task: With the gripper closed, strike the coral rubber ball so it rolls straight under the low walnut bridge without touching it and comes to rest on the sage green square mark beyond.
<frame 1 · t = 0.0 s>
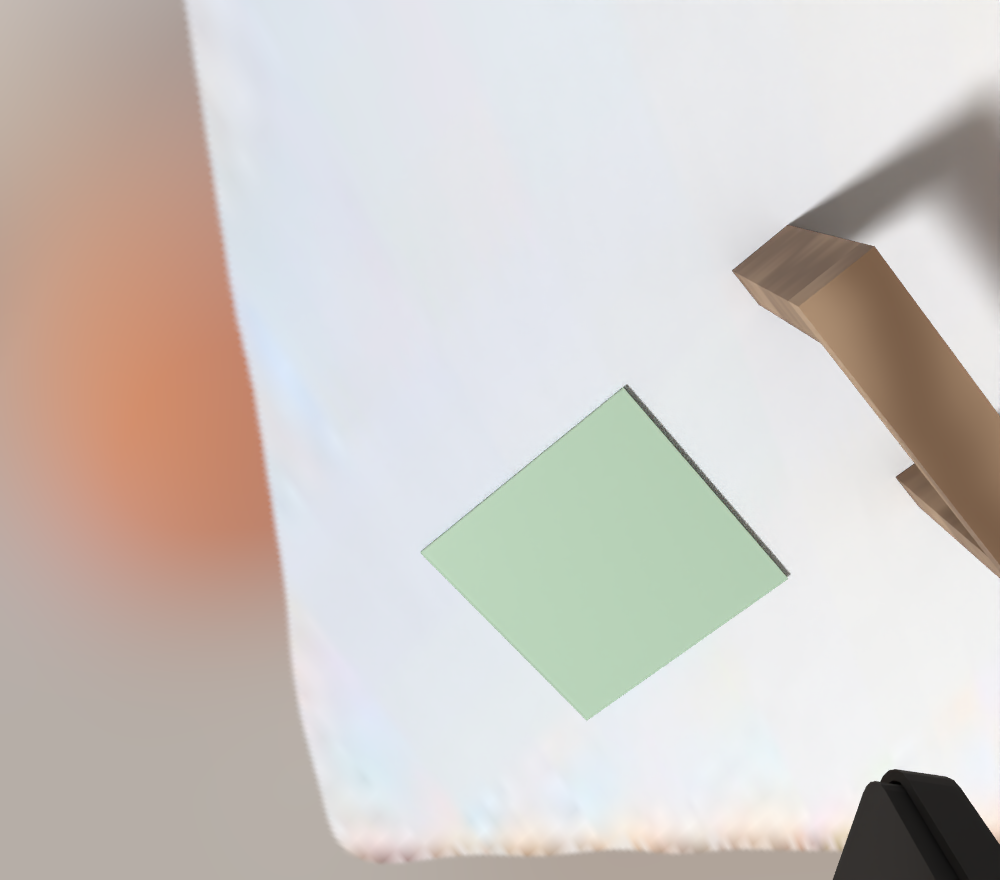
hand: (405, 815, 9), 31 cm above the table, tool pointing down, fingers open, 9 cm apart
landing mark: (603, 564, 42), on the table
bridge: (856, 372, 39), on the table
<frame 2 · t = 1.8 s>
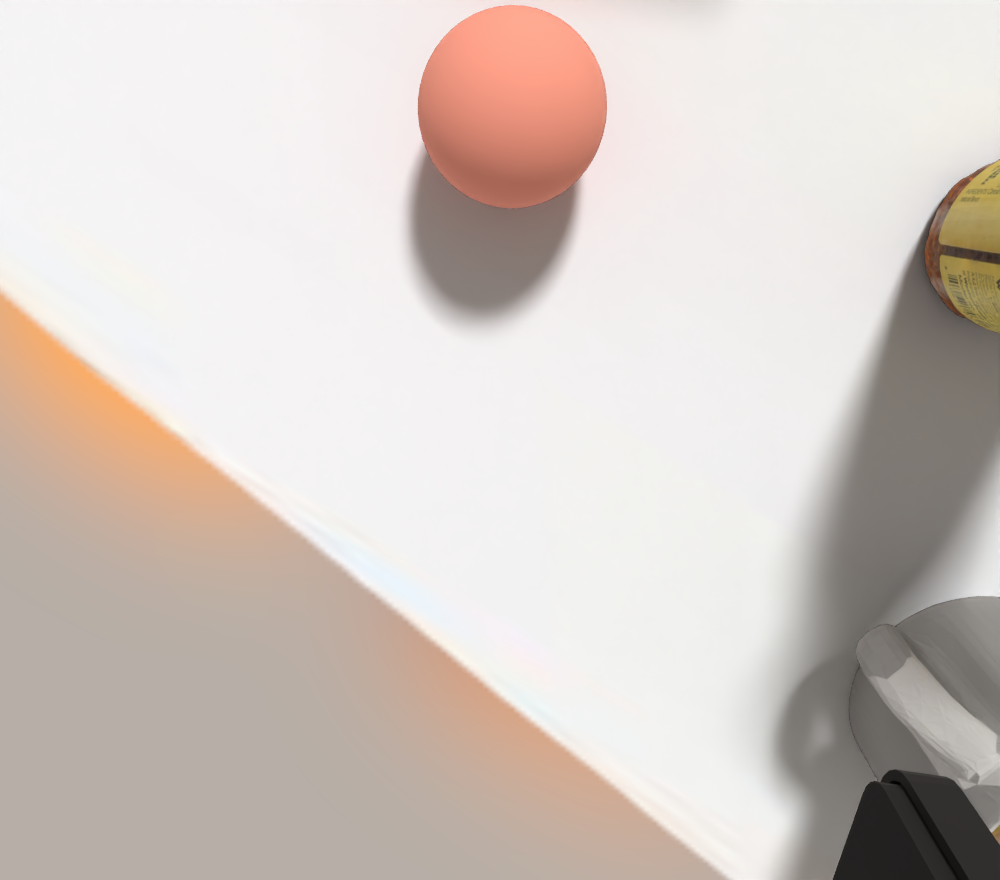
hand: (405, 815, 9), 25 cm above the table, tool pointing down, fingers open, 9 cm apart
ball: (512, 110, 27), on the table
coffee mug: (943, 668, 36), on the table
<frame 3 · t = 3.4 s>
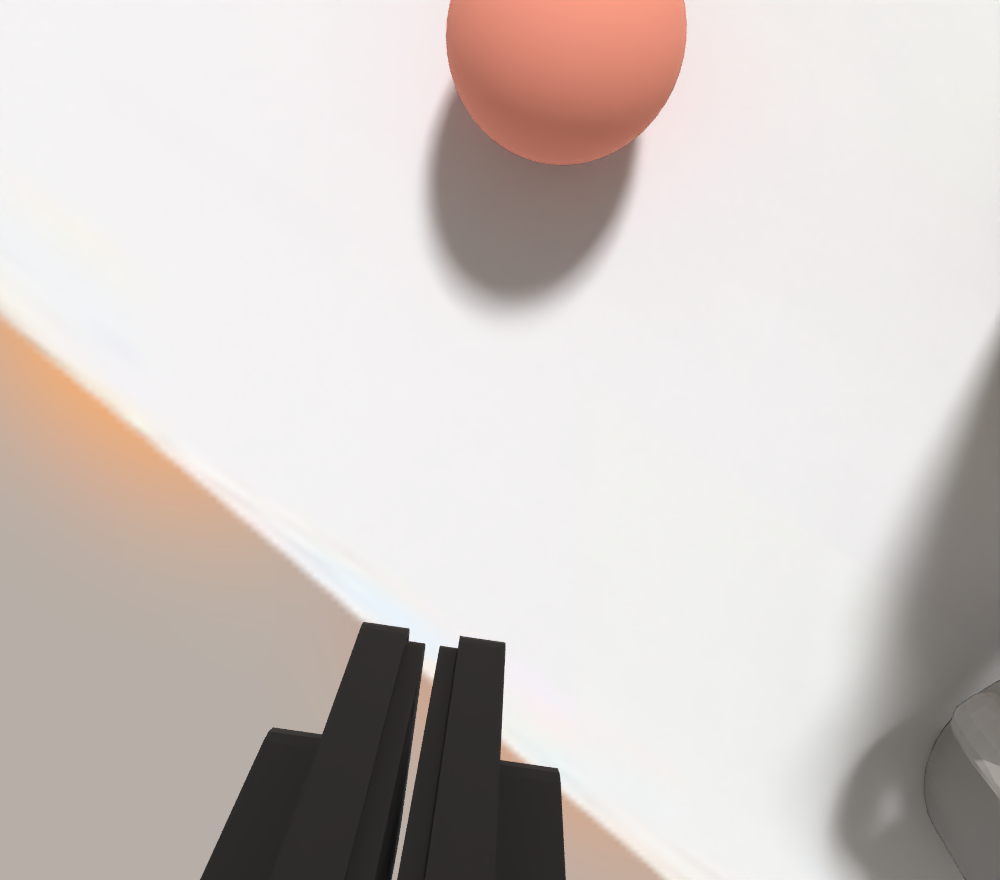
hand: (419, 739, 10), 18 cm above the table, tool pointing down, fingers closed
ball: (565, 40, 21), on the table
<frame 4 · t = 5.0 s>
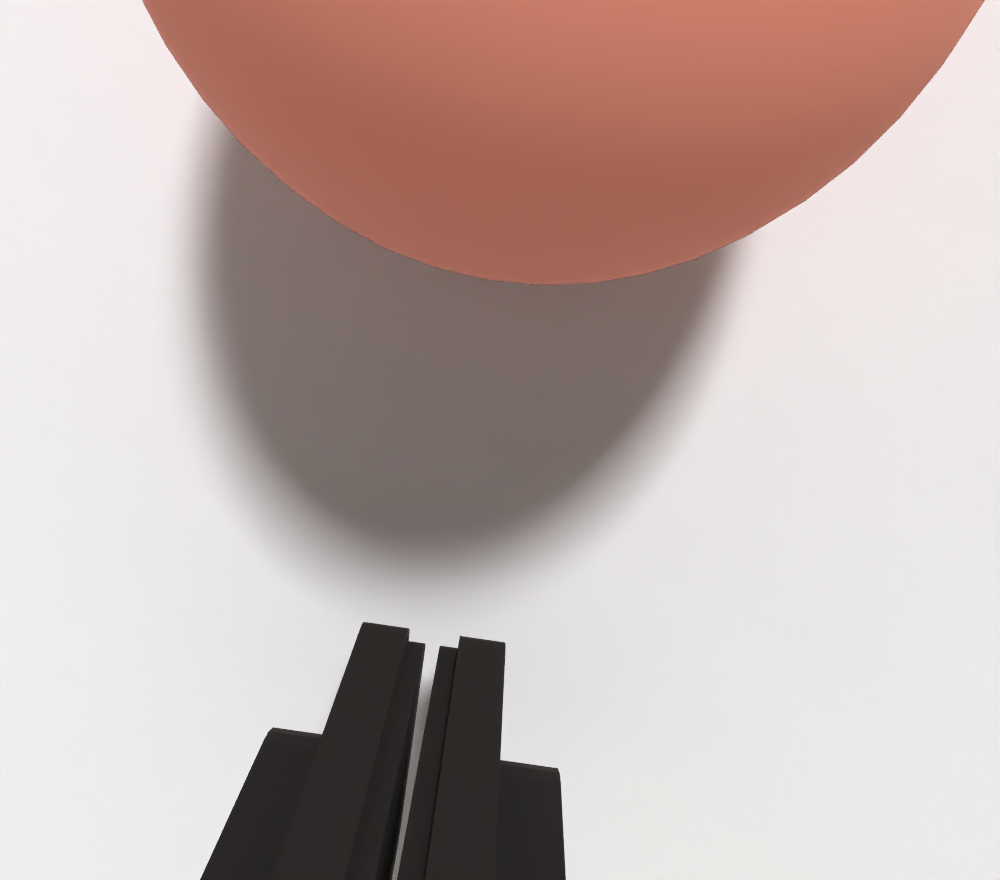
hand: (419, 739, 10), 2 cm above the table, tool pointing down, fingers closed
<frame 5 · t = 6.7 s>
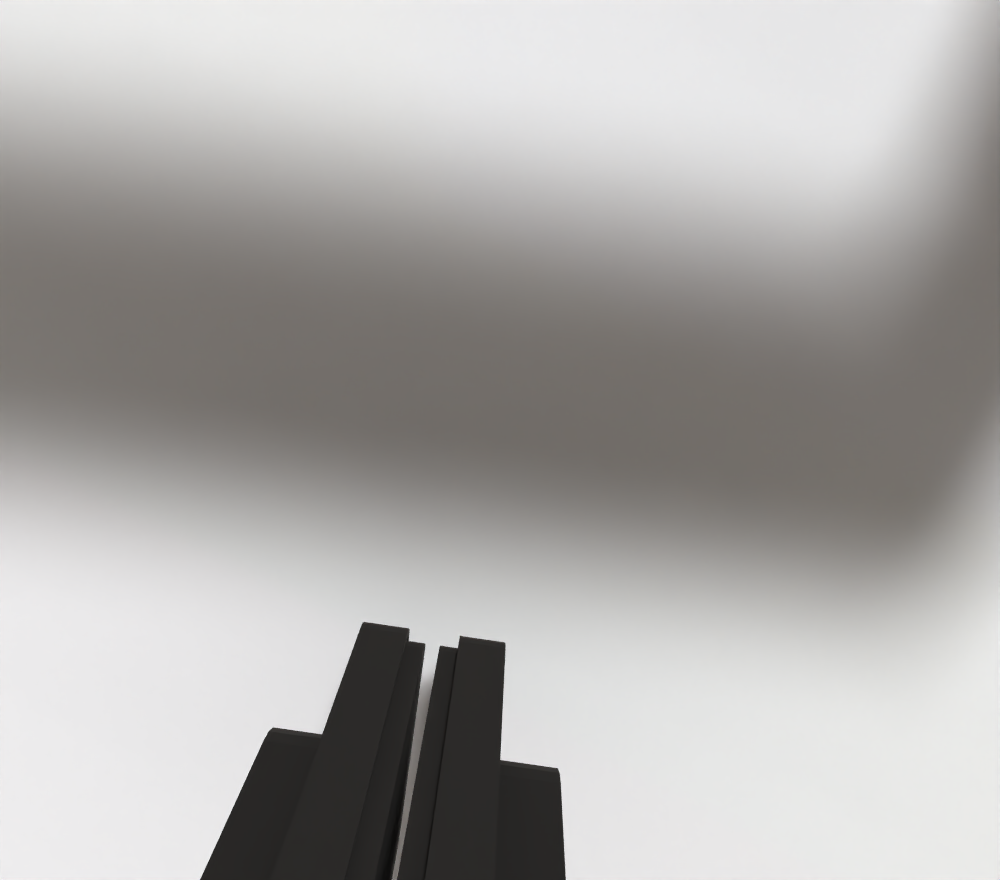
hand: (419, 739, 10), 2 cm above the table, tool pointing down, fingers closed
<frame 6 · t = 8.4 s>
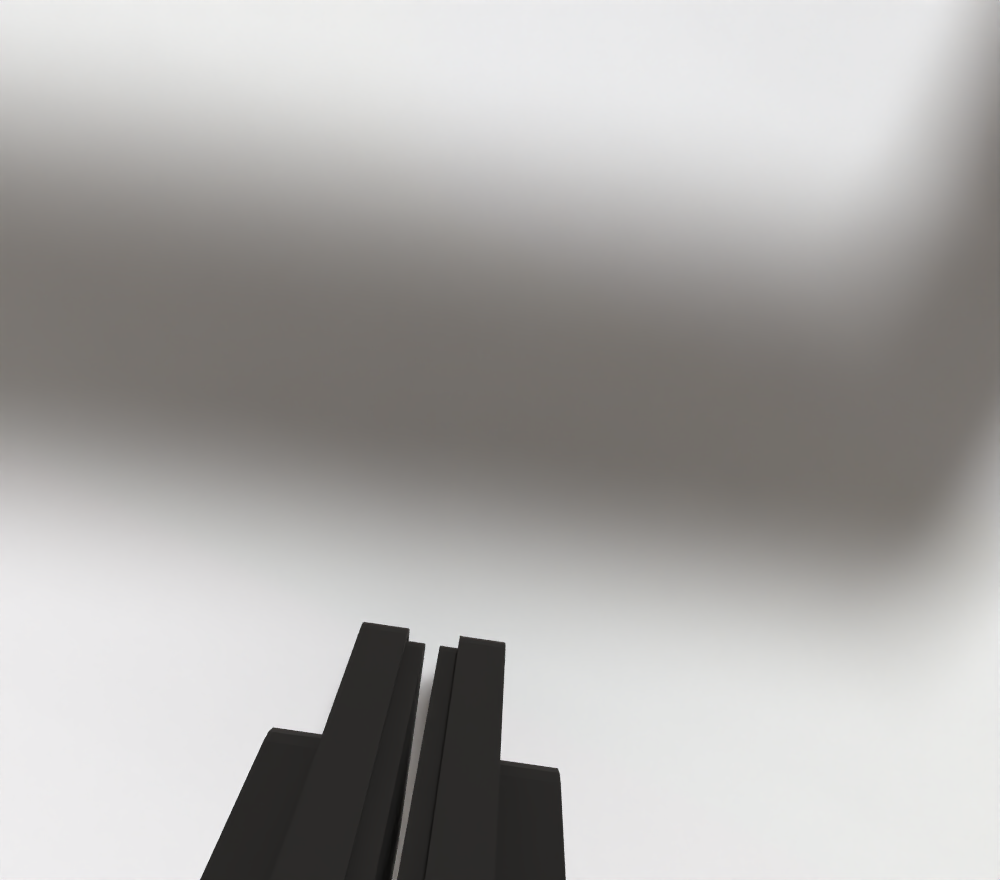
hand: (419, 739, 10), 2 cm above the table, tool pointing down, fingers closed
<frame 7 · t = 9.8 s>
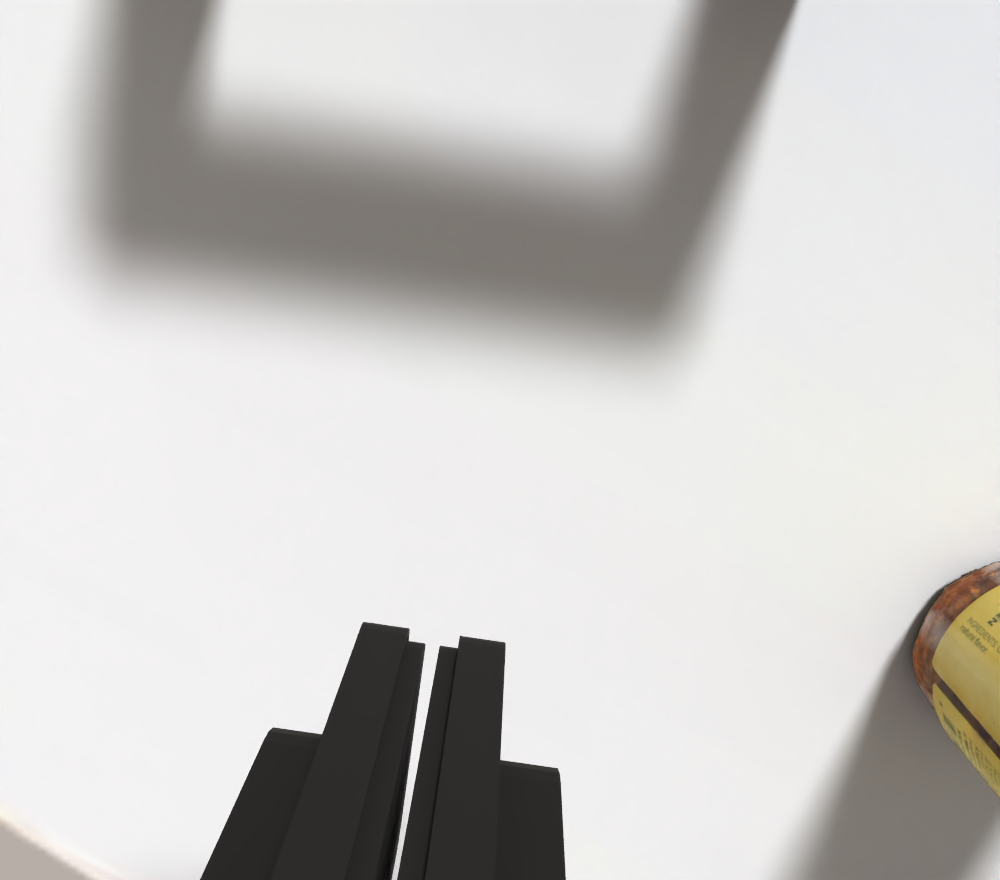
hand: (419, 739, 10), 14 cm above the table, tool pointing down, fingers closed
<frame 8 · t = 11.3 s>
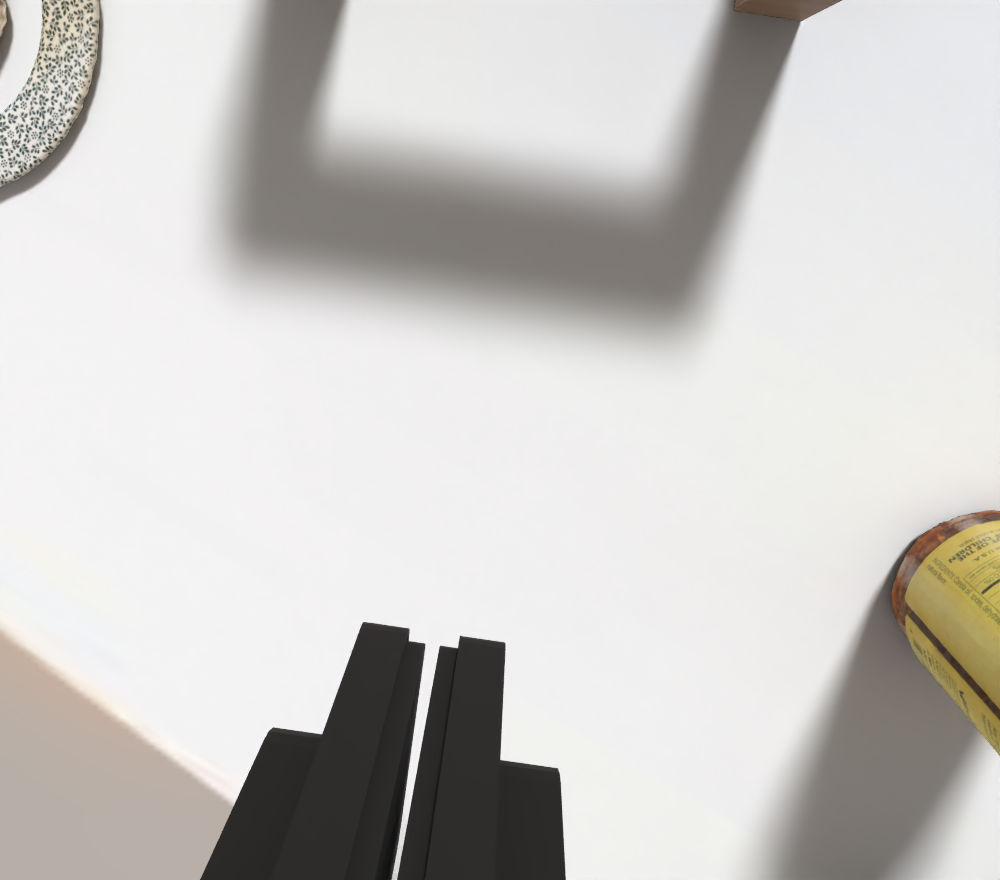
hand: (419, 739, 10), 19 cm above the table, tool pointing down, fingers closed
sauce bottle: (968, 573, 30), on the table
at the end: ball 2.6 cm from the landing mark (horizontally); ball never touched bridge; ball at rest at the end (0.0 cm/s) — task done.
